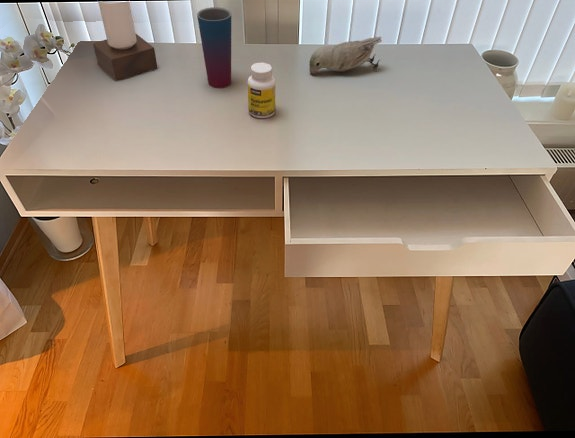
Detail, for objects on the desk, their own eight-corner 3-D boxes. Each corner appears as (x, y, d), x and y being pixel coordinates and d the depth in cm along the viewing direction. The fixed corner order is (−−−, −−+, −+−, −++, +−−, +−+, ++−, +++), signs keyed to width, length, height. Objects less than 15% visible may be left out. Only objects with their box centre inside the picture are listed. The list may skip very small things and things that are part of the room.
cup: (202, 89, 109) (194, 20, 99) (206, 74, 114) (199, 6, 104) (234, 90, 109) (229, 21, 99) (236, 75, 114) (232, 7, 104)
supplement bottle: (247, 118, 102) (245, 73, 95) (249, 104, 105) (248, 59, 99) (274, 119, 101) (274, 74, 95) (276, 105, 105) (276, 60, 99)
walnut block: (116, 81, 111) (111, 59, 108) (97, 64, 117) (92, 43, 114) (157, 68, 116) (154, 47, 113) (138, 52, 122) (134, 32, 118)
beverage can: (115, 37, 116) (103, -18, 107) (141, 40, 115) (131, -15, 107) (103, 49, 111) (90, -7, 103) (130, 52, 110) (119, -5, 102)
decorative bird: (306, 68, 117) (308, 37, 112) (372, 62, 120) (377, 31, 115) (312, 80, 113) (314, 48, 108) (380, 73, 116) (385, 42, 111)
